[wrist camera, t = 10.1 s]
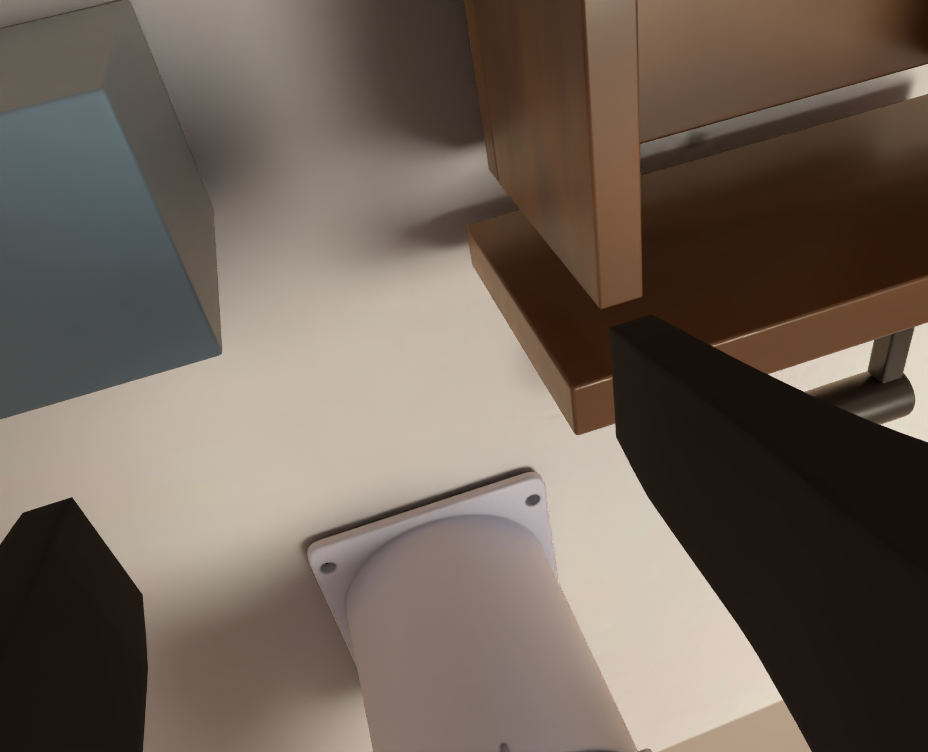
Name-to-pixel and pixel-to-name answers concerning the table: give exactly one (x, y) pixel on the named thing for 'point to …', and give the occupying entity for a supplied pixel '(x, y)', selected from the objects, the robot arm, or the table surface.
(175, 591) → the table surface
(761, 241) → the drawer
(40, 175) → the box
